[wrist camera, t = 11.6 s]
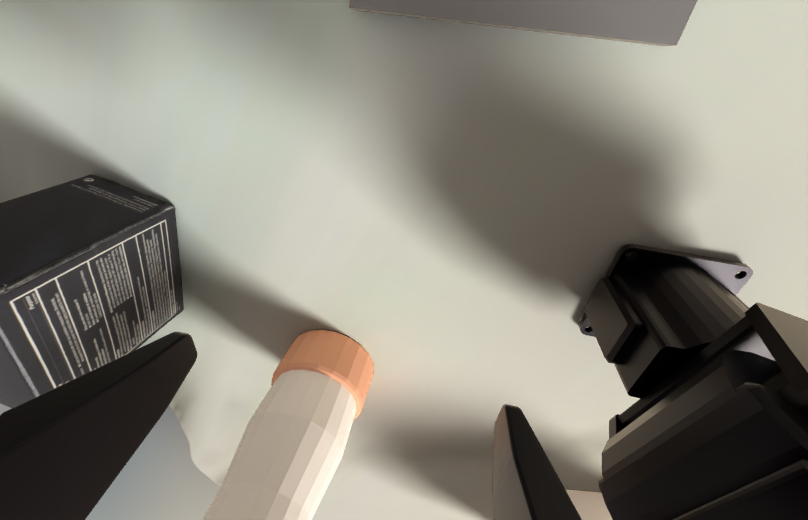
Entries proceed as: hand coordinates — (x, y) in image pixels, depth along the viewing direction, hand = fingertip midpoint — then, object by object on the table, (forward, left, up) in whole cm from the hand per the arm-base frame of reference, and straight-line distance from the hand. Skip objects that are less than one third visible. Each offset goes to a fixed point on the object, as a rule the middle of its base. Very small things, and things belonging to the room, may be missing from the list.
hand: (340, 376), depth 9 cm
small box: (+20, +7, -12) cm, 25 cm away
